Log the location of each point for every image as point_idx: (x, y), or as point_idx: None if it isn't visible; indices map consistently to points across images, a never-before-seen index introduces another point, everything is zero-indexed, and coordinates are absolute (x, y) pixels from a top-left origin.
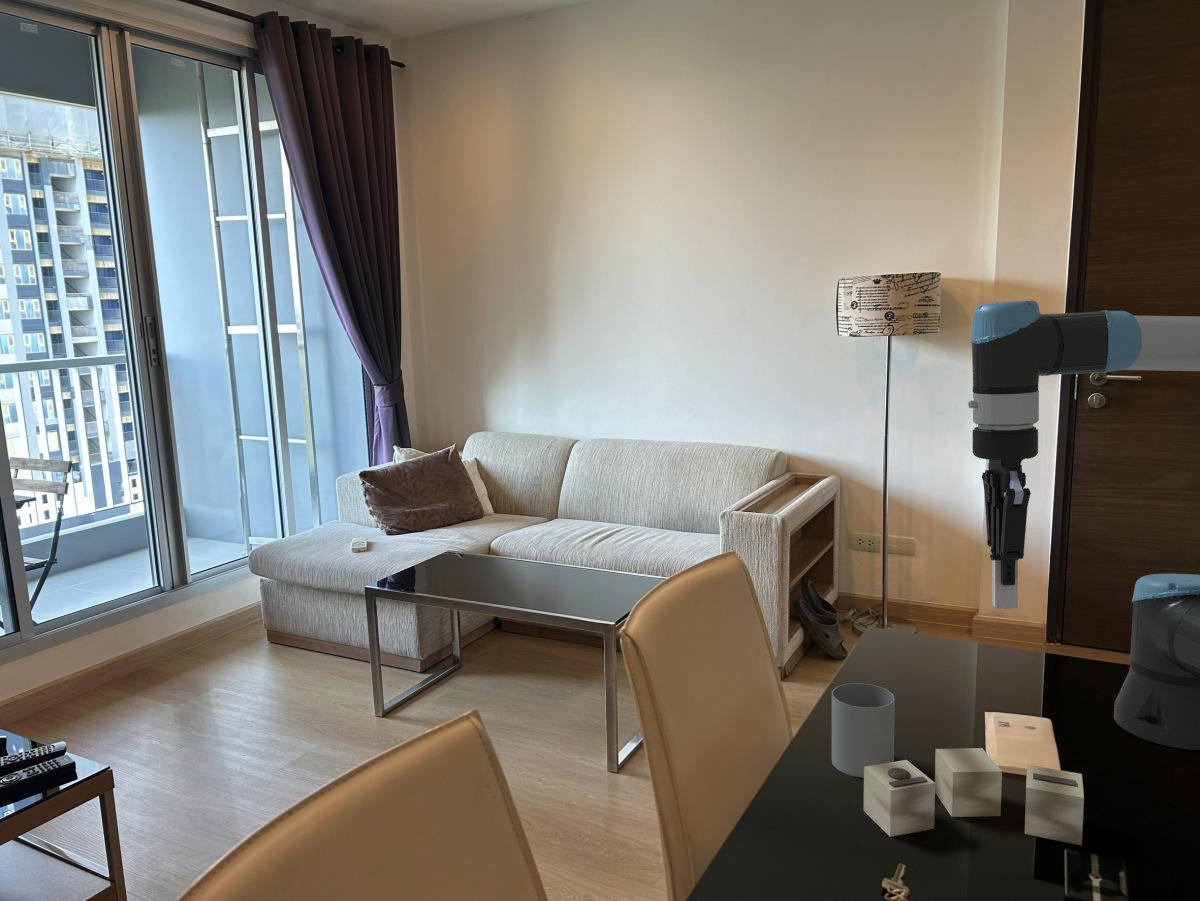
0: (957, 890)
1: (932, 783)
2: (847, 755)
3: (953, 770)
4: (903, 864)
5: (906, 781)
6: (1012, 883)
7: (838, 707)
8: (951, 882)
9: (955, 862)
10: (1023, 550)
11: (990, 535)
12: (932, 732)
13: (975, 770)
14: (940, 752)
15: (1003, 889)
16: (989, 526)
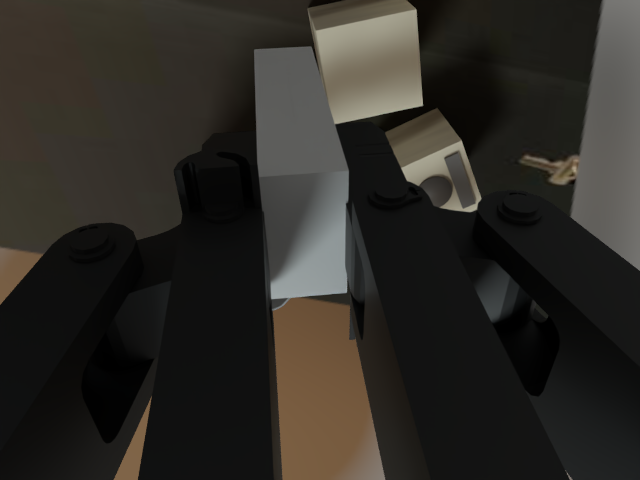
0: (586, 96)
1: (462, 144)
2: None
3: (416, 103)
4: (524, 157)
5: (461, 184)
6: (582, 15)
7: (279, 299)
8: (569, 101)
9: (524, 89)
10: (592, 237)
11: (143, 401)
12: (70, 65)
13: (415, 63)
14: (346, 117)
15: (593, 32)
16: (112, 477)
